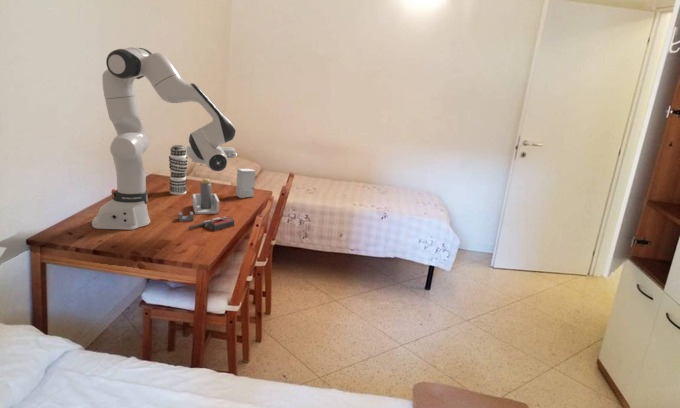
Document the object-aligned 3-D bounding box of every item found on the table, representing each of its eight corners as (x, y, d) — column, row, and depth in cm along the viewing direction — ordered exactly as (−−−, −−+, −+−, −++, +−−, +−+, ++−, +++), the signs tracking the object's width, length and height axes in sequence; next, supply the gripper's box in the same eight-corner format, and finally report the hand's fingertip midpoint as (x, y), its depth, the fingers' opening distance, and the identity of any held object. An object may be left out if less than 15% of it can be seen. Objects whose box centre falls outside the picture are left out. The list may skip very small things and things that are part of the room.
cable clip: (179, 221, 210) (179, 214, 210) (178, 218, 214) (178, 211, 213) (193, 220, 213) (193, 214, 212) (192, 217, 216) (192, 211, 215)
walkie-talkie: (224, 220, 218) (187, 230, 202) (224, 211, 217) (187, 220, 201) (237, 225, 213) (200, 235, 198) (237, 216, 212) (200, 226, 196)
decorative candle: (172, 189, 256) (172, 143, 249) (189, 191, 256) (190, 145, 249) (166, 193, 248) (165, 146, 240) (183, 195, 247) (183, 148, 240)
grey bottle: (200, 209, 226) (201, 180, 222) (199, 206, 230) (200, 178, 226) (211, 209, 228) (212, 180, 224) (210, 205, 232) (210, 178, 228)
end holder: (194, 214, 222) (195, 201, 220) (192, 205, 233) (192, 193, 231) (219, 213, 226) (219, 201, 224) (215, 205, 237) (215, 193, 235)
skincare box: (240, 198, 253) (241, 171, 248) (235, 195, 257) (236, 168, 253) (254, 197, 258) (255, 170, 253) (249, 194, 262) (250, 167, 258)
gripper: (238, 148, 202) (233, 142, 214) (188, 146, 195) (185, 140, 207) (237, 162, 204) (232, 155, 216) (188, 161, 196) (185, 154, 209)
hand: (209, 148), depth 211 cm, fingers open, 8 cm apart
